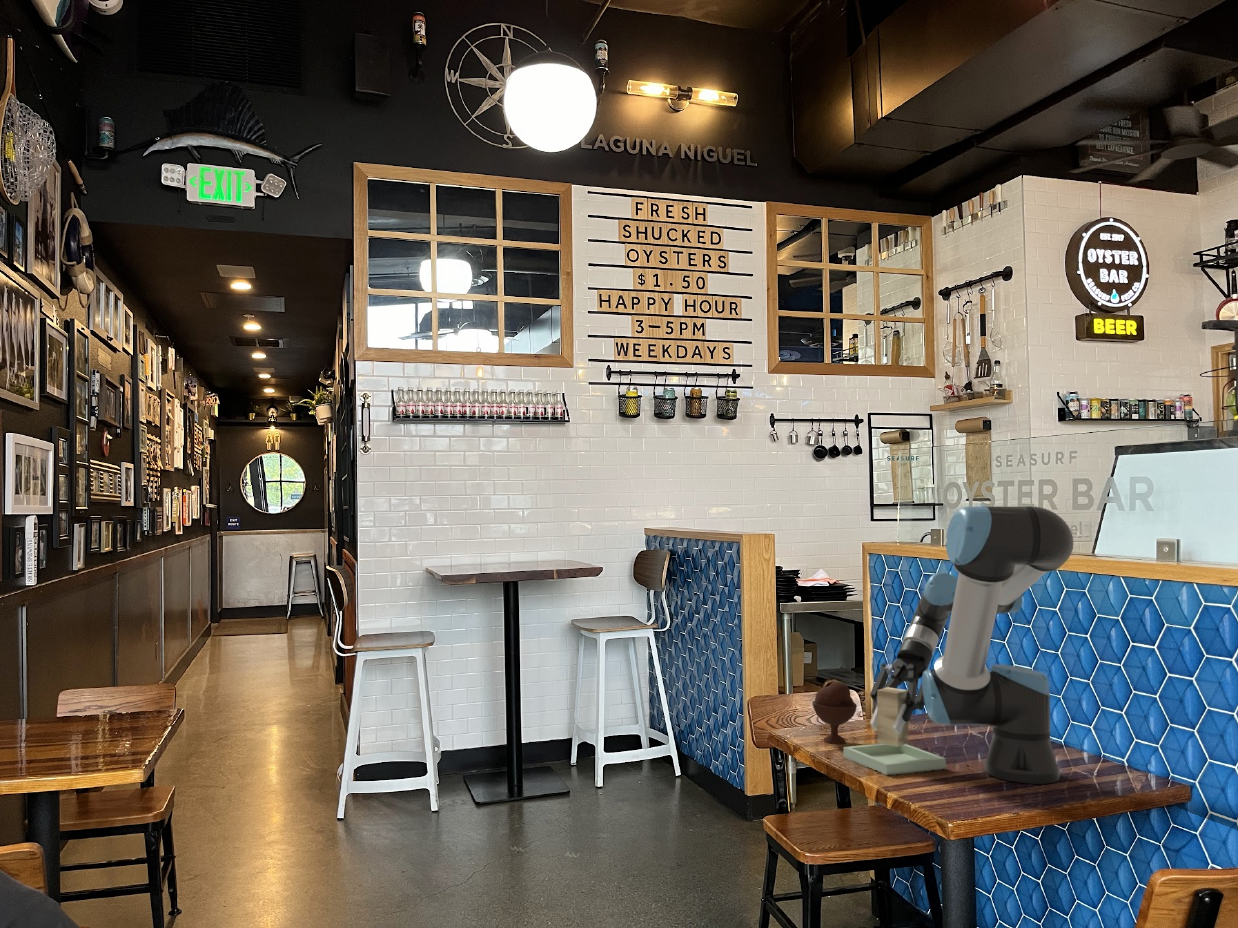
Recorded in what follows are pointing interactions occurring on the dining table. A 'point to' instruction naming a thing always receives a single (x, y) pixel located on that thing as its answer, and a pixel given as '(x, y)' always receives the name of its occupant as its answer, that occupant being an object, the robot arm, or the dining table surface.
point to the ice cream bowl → (834, 708)
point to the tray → (894, 758)
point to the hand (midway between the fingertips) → (884, 728)
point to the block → (890, 716)
